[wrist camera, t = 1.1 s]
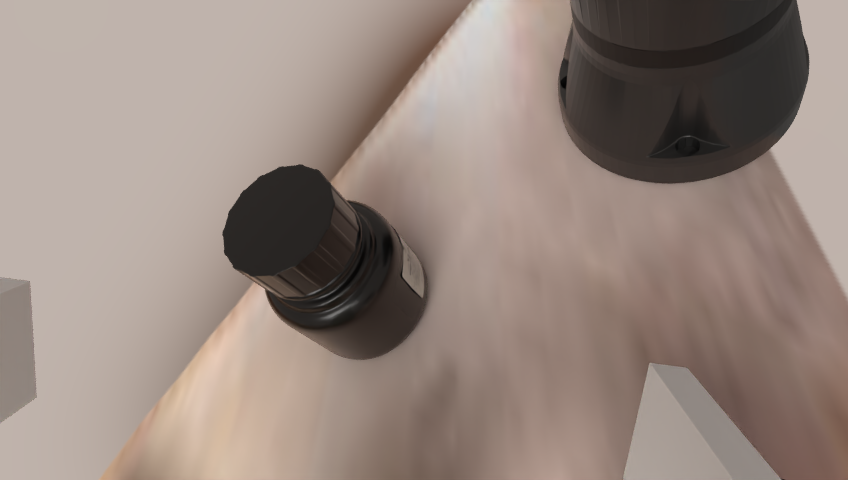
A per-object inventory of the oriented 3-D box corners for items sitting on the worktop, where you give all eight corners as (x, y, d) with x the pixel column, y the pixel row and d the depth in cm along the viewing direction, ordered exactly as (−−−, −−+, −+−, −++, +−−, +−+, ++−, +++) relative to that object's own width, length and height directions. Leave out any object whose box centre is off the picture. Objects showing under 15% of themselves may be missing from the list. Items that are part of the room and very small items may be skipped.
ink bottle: (459, 276, 39) (391, 181, 29) (386, 389, 37) (287, 330, 27) (356, 224, 44) (268, 128, 34) (288, 321, 42) (173, 250, 32)
